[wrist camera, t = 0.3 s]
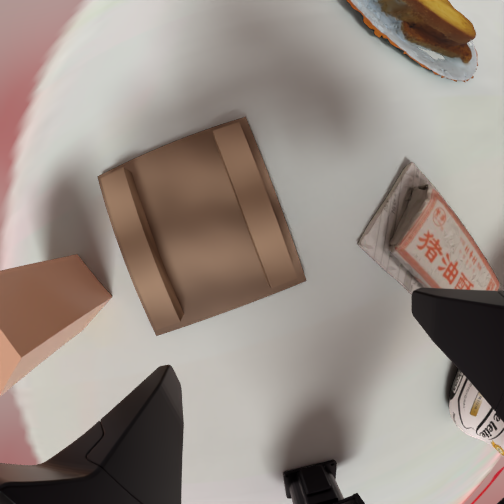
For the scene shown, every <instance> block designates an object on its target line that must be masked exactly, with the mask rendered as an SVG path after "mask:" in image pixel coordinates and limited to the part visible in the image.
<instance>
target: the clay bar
mask: <svg viewBox="0 0 504 504" xmlns="http://www.w3.org/2000/svg"><path fill="white" fill-rule="evenodd" d="M111 298H112V296H111V295H110V294H109V293H108V291H107V290H106V289H105V288H104V287H103V286H102V284H101V283H100V282H99V281H98V280H97V278H96V277H95V276H94V275H93V273H92V272H91V271H90V270H89V268H88V267H87V266H86V265H85V263H84V262H83V261H82V260H81V258H80V257H79V256H78V254H77V255H72V256H67V257H62V258H57V259H52V260H47V261H43V262H38V263H33V264H29V265H24V266H19V267H15V268H11V269H6V270H2V271H0V396H1V395H3V394H4V393H5V392H6V391H7V390H9V389H10V388H11V387H12V386H13V385H15V384H16V383H17V382H18V381H19V380H21V379H22V378H23V377H24V376H25V375H27V374H28V373H29V372H30V371H32V370H33V369H34V368H35V367H37V366H38V365H39V364H40V363H41V362H43V361H44V360H45V359H46V358H48V357H49V356H50V355H52V354H53V353H54V352H55V351H57V350H58V349H59V348H60V347H62V346H63V345H64V344H66V343H67V342H68V341H69V340H71V339H72V338H73V337H75V336H76V335H77V334H79V333H80V332H81V331H82V330H83V329H84V328H85V327H86V326H87V325H88V324H89V323H90V321H91V320H92V319H93V318H94V317H95V316H96V315H97V313H98V312H99V311H100V310H101V309H102V308H103V307H104V306H105V305H106V303H107V302H108V301H109V300H110V299H111Z"/></svg>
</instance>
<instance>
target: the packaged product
mask: <svg viewBox="0 0 504 504" xmlns="http://www.w3.org/2000/svg"><path fill="white" fill-rule="evenodd" d="M358 245H359V246H360V247H361V248H362V249H363V250H364V251H365V252H366V253H367V254H368V255H369V256H370V257H371V258H372V259H373V260H374V261H376V262H377V263H378V264H379V265H380V266H381V267H382V268H383V269H384V270H385V271H386V272H387V273H389V274H390V275H391V276H392V277H394V278H395V279H396V280H397V281H398V282H399V283H400V284H401V285H402V286H403V287H404V288H405V289H406V290H407V291H408V292H409V293H410V294H411V295H412V292H413V291H414V290H416V289H418V288H421V287H425V288H444V289H465V290H490V291H498V289H499V287H500V283H499V281H498V280H497V277H496V275H495V274H494V272H493V269H492V268H491V266H490V265H489V264H488V261H487V259H486V258H485V257H484V255H483V253H482V252H481V251H480V249H479V247H478V246H477V244H476V243H475V242H474V239H473V238H472V237H471V235H470V234H469V232H468V231H467V229H466V228H465V226H464V225H463V224H462V223H461V221H460V219H459V218H458V216H457V215H456V214H455V213H454V211H453V210H452V209H451V207H450V206H449V205H448V204H447V203H446V202H445V200H444V198H443V197H442V196H441V194H440V193H439V192H438V191H437V189H436V188H435V187H434V186H433V185H432V183H431V182H430V181H429V180H428V179H427V178H426V176H425V175H424V174H423V173H422V172H421V171H420V170H419V169H418V168H417V166H416V165H415V164H414V163H413V162H411V163H410V164H408V165H407V166H406V167H405V168H404V169H403V171H402V173H401V174H400V176H399V178H398V179H397V181H396V183H395V184H394V186H393V188H392V189H391V191H390V193H389V194H388V196H387V197H386V199H385V200H384V202H383V203H382V205H381V206H380V208H379V209H378V211H377V212H376V214H375V215H374V217H373V218H372V220H371V221H370V223H369V224H368V226H367V228H366V229H365V231H364V233H363V235H362V237H361V239H360V241H359V243H358Z"/></svg>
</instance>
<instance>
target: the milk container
mask: <svg viewBox="0 0 504 504" xmlns="http://www.w3.org/2000/svg"><path fill="white" fill-rule="evenodd" d="M449 411H450V415H451V418H452V419H453V421H454V422H455V424H456V425H457V426H458V427H459V429H460V430H462V431H463V432H464V433H465V434H467V435H469V436H471V437H474V438H477V439H480V440H483V441H485V442H487V443H488V444H490V445H491V446H492V447H493V448H494V449H496V450H497V451H498V452H499V453H500V454H501V455H502V456H503V457H504V422H503V421H502V420H501V419H500V417H499V416H498V415H497V414H496V411H494V410H493V408H492V407H491V406H490V405H489V404H488V402H487V401H486V400H485V399H484V398H483V396H482V395H481V394H480V393H479V392H478V390H477V389H476V388H475V387H474V386H473V385H472V384H471V382H470V381H469V380H468V379H467V378H466V377H465V376H464V374H463V373H462V372H461V371H460V370H459V369H458V371H457V373H456V377H455V380H454V382H453V385H452V388H451V392H450V397H449Z"/></svg>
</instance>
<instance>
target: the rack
mask: <svg viewBox="0 0 504 504" xmlns="http://www.w3.org/2000/svg"><path fill="white" fill-rule="evenodd" d="M98 180H99V184H100V188H101V191H102V195H103V198H104V202H105V205H106V208H107V212H108V215H109V218H110V221H111V224H112V227H113V230H114V233H115V236H116V239H117V242H118V245H119V248H120V250H121V253H122V256H123V258H124V261H125V264H126V266H127V269H128V272H129V274H130V277H131V279H132V282H133V284H134V287H135V289H136V291H137V294H138V296H139V298H140V301H141V303H142V305H143V308H144V310H145V312H146V314H147V317H148V319H149V321H150V323H151V325H152V327H153V330H154V332H155V334H156V336H158V335H161V334H164V333H167V332H170V331H173V330H176V329H179V328H182V327H185V326H188V325H191V324H193V323H196V322H199V321H202V320H205V319H208V318H210V317H213V316H216V315H219V314H222V313H224V312H227V311H230V310H232V309H235V308H238V307H241V306H243V305H246V304H249V303H251V302H254V301H256V300H259V299H262V298H264V297H267V296H269V295H272V294H275V293H277V292H280V291H282V290H285V289H287V288H290V287H292V286H295V285H297V284H300V283H302V282H305V281H306V278H305V275H304V272H303V269H302V266H301V263H300V260H299V257H298V254H297V251H296V248H295V246H294V243H293V240H292V237H291V234H290V231H289V229H288V226H287V223H286V220H285V217H284V215H283V212H282V209H281V206H280V204H279V201H278V198H277V196H276V193H275V190H274V188H273V185H272V182H271V180H270V177H269V174H268V172H267V169H266V167H265V164H264V161H263V159H262V156H261V154H260V151H259V149H258V146H257V144H256V141H255V139H254V136H253V134H252V131H251V129H250V126H249V124H248V121H247V119H246V117H243V118H240V119H237V120H234V121H230V122H227V123H224V124H221V125H218V126H215V127H212V128H209V129H206V130H204V131H201V132H198V133H195V134H193V135H190V136H187V137H185V138H182V139H179V140H177V141H174V142H172V143H169V144H167V145H164V146H162V147H160V148H157V149H155V150H152V151H150V152H148V153H146V154H143V155H141V156H139V157H137V158H134V159H132V160H130V161H128V162H126V163H124V164H122V165H120V166H118V167H115V168H113V169H111V170H109V171H107V172H105V173H103V174H102V175H100V176H98Z"/></svg>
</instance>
